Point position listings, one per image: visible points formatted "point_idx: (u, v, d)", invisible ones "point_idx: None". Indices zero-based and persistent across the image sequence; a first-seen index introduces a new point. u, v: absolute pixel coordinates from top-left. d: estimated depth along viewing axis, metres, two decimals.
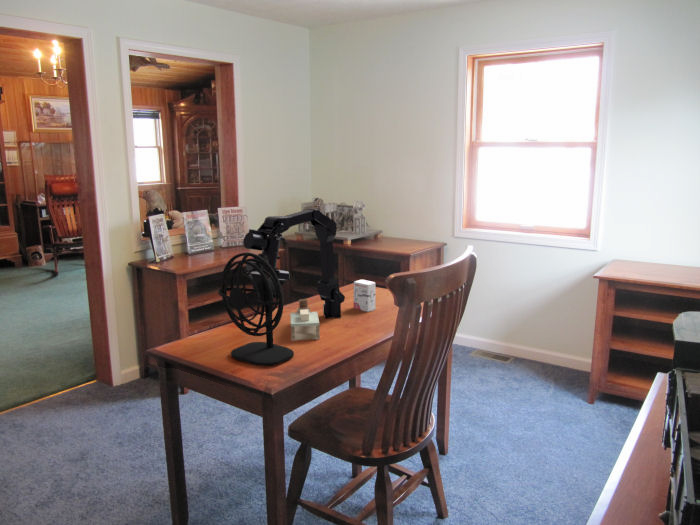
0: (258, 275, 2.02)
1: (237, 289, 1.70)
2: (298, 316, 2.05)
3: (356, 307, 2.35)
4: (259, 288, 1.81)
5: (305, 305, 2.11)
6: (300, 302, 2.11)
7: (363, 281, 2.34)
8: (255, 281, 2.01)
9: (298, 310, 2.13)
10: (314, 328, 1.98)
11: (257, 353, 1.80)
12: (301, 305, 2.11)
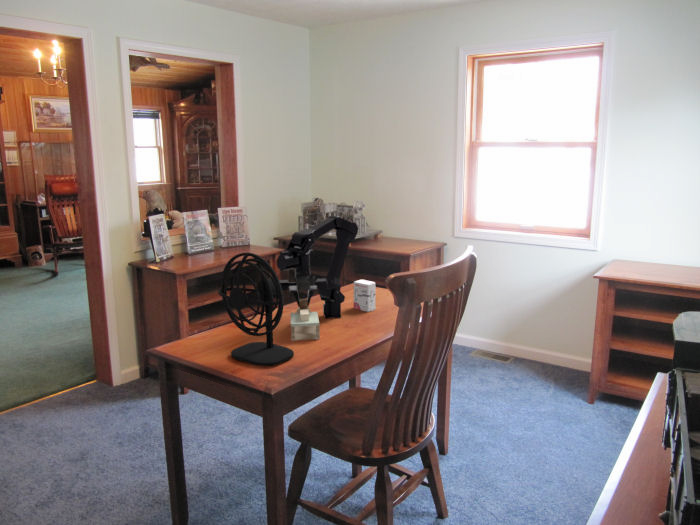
0: (297, 289, 2.12)
1: (237, 289, 1.70)
2: (298, 316, 2.05)
3: (356, 307, 2.35)
4: (259, 288, 1.81)
5: (305, 305, 2.11)
6: (300, 302, 2.11)
7: (363, 281, 2.34)
8: None
9: (298, 310, 2.13)
10: (314, 328, 1.98)
11: (257, 353, 1.80)
12: (301, 305, 2.11)
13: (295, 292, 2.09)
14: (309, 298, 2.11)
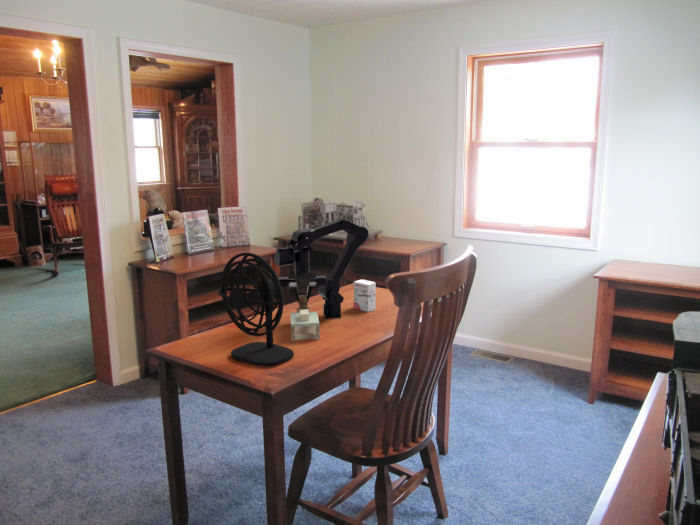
0: (296, 286, 2.17)
1: (237, 289, 1.70)
2: (298, 316, 2.05)
3: (356, 307, 2.35)
4: (259, 288, 1.81)
5: (304, 301, 2.17)
6: (300, 298, 2.16)
7: (363, 281, 2.34)
8: (297, 292, 2.17)
9: (298, 310, 2.13)
10: (314, 328, 1.98)
11: (257, 353, 1.80)
12: (301, 301, 2.16)
13: (295, 288, 2.14)
14: (308, 294, 2.17)
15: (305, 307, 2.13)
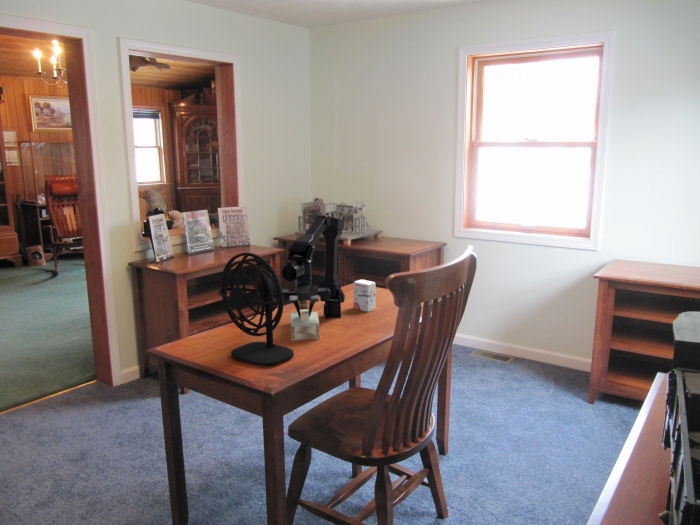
0: (298, 299, 2.02)
1: (237, 289, 1.70)
2: (298, 316, 2.05)
3: (356, 307, 2.35)
4: (259, 288, 1.81)
5: (304, 301, 2.17)
6: None
7: (363, 281, 2.34)
8: None
9: None
10: (314, 328, 1.98)
11: (257, 353, 1.80)
12: (301, 301, 2.16)
13: (296, 302, 1.99)
14: (310, 308, 2.01)
15: (305, 307, 2.13)
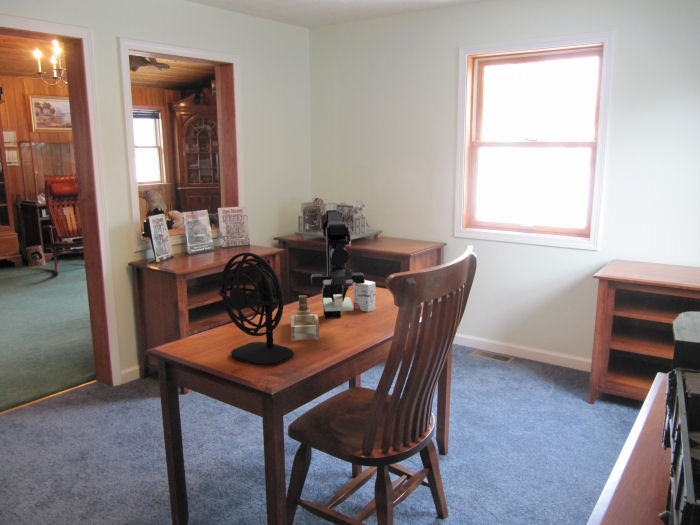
0: (331, 284, 1.99)
1: (237, 289, 1.70)
2: (331, 301, 2.03)
3: (356, 307, 2.35)
4: (259, 288, 1.81)
5: (304, 301, 2.17)
6: (300, 298, 2.16)
7: None
8: (332, 290, 1.99)
9: (298, 310, 2.13)
10: (314, 328, 1.98)
11: (257, 353, 1.80)
12: (301, 301, 2.16)
13: (330, 287, 1.96)
14: (344, 293, 1.99)
15: (305, 307, 2.13)
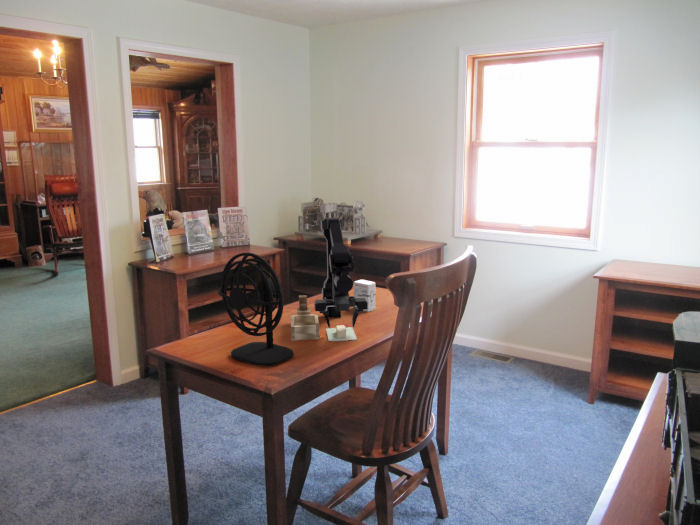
0: None
1: (237, 289, 1.70)
2: (334, 332, 2.05)
3: None
4: (259, 288, 1.81)
5: (304, 301, 2.17)
6: (300, 298, 2.16)
7: (363, 281, 2.34)
8: (328, 317, 2.00)
9: (298, 310, 2.13)
10: (314, 328, 1.98)
11: (257, 353, 1.80)
12: (301, 301, 2.16)
13: (326, 313, 1.98)
14: (355, 318, 2.01)
15: (305, 307, 2.13)
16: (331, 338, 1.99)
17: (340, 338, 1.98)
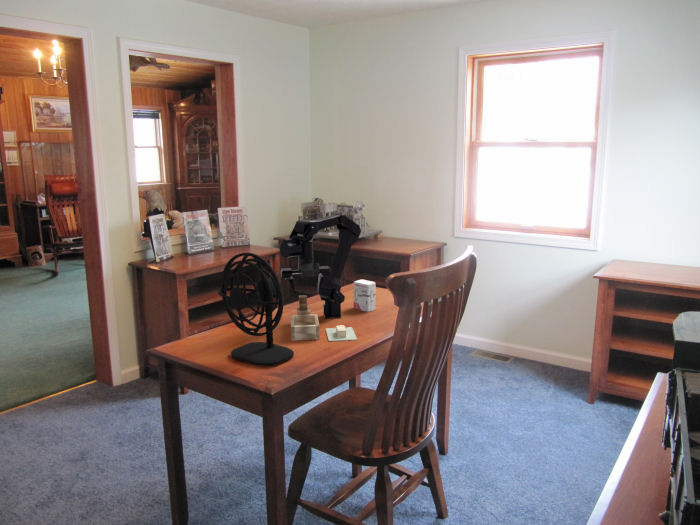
0: (292, 277, 2.12)
1: (237, 289, 1.70)
2: (334, 332, 2.05)
3: (356, 307, 2.35)
4: (259, 288, 1.81)
5: (304, 301, 2.17)
6: (300, 298, 2.16)
7: (363, 281, 2.34)
8: (293, 284, 2.11)
9: (298, 310, 2.13)
10: (314, 328, 1.98)
11: (257, 353, 1.80)
12: (301, 301, 2.16)
13: (291, 280, 2.09)
14: (320, 285, 2.13)
15: (305, 307, 2.13)
16: (331, 338, 1.99)
17: (340, 338, 1.98)
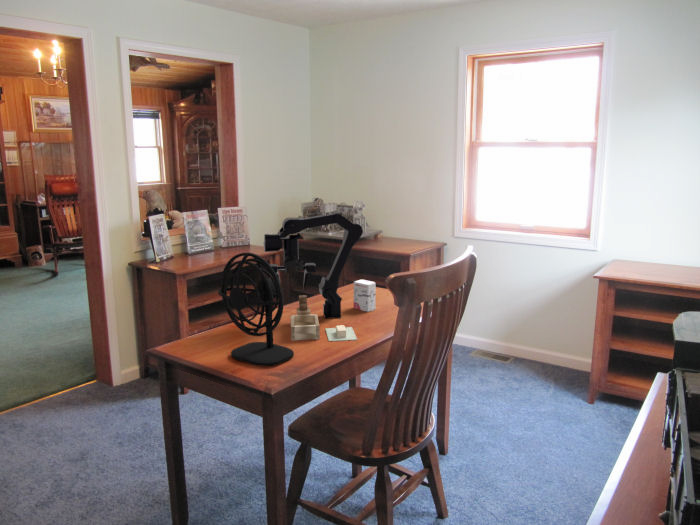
0: (278, 273, 2.18)
1: (237, 289, 1.70)
2: (334, 332, 2.05)
3: (356, 307, 2.35)
4: (259, 288, 1.81)
5: (304, 301, 2.17)
6: (300, 298, 2.16)
7: (363, 281, 2.34)
8: (279, 279, 2.18)
9: (298, 310, 2.13)
10: (314, 328, 1.98)
11: (257, 353, 1.80)
12: (301, 301, 2.16)
13: None
14: (305, 281, 2.19)
15: (305, 307, 2.13)
16: (331, 338, 1.98)
17: (340, 338, 1.98)
